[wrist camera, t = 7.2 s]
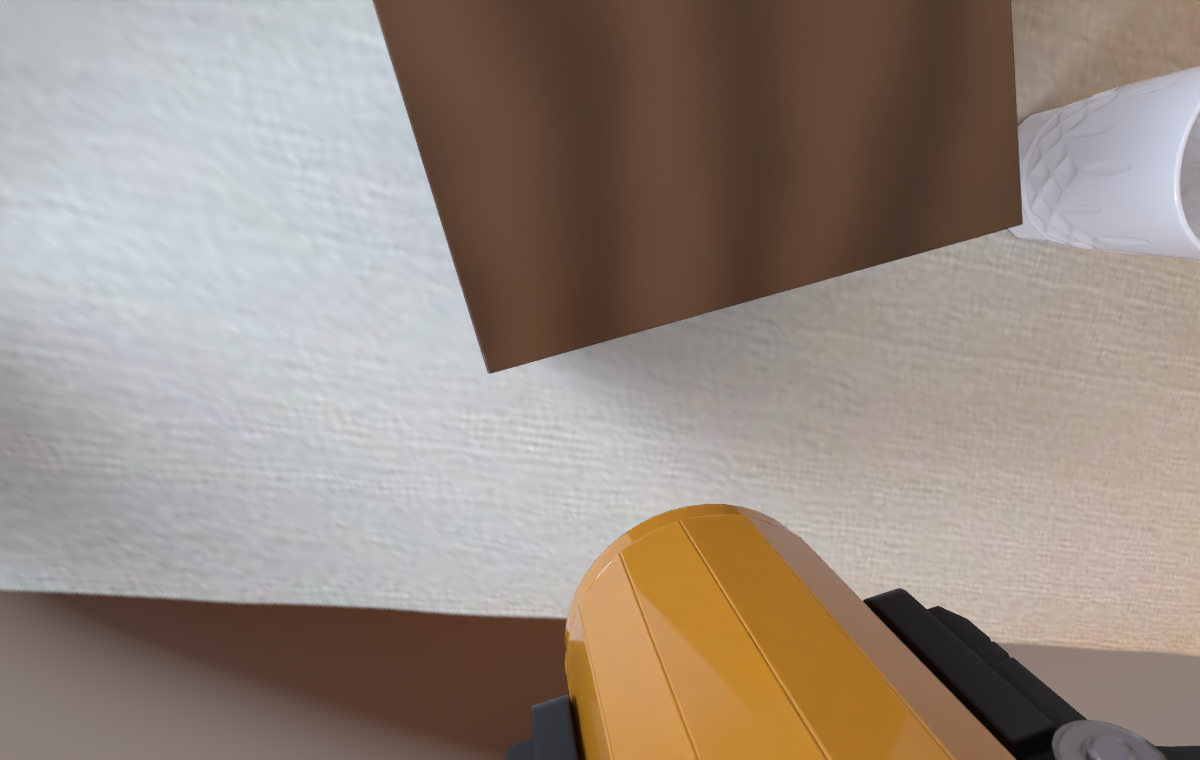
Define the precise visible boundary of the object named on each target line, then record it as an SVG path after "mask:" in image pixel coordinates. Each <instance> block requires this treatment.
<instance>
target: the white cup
mask: <svg viewBox="0 0 1200 760" xmlns="http://www.w3.org/2000/svg"><path fill="white" fill-rule="evenodd" d="M1018 142H1019V161H1020V179H1021V197H1022V216H1023V224H1022V225H1019V226H1016V227H1012V228H1009V229H1008V230H1009V231H1010V232H1011V233H1013V234H1014V235H1015V236H1016V237H1018V238H1023V239H1028V240H1033V241H1038V242H1045V243H1057V244H1066V245H1068V246H1070V247H1076V248H1086V249H1094V250H1100V251H1108V252H1117V253H1127V254H1138V255H1149V256H1160V257H1170V258H1181V259H1191V260H1200V65H1198V66H1194V67H1190V68H1186V69H1182V70H1179V71H1175V72H1172V73H1168V74H1164V75H1160V76H1157V77H1153V78H1149V79H1145V80H1142V81H1138V82H1134V83H1130V84H1127V85H1123V86H1119V87H1117V88H1114V89H1111V90H1108V91H1105V92H1101V93H1097V94H1093V95H1090V96H1088V97H1086V98H1084V99H1082V100H1080V101H1077V102H1074V103H1070V104H1066V105H1062V106H1058V107H1055V108H1052V109H1048V110H1045V111H1042V112H1038V113H1035V114H1032V115H1030V116H1028V117H1027V118H1026V119H1025V120H1024V121H1023V122H1022V123H1021V124H1020V125H1019V126H1018Z"/></svg>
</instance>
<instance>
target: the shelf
mask: <svg viewBox="0 0 1200 760" xmlns="http://www.w3.org/2000/svg"><path fill="white" fill-rule="evenodd" d="M372 1H373V4H374V7H375V10H376V14H377V17H378V20H379V23H380V26H381V30H382V33H383V36H384V39H385V43H386V46H387V49H388V52H389V56H390V59H391V62H392V65H393V68H394V72H395V75H396V78H397V81H398V85H399V88H400V91H401V94H402V97H403V101H404V104H405V107H406V110H407V114H408V117H409V120H410V123H411V127H412V130H413V133H414V136H415V139H416V143H417V146H418V149H419V152H420V156H421V159H422V162H423V165H424V169H425V172H426V175H427V178H428V181H429V185H430V188H431V191H432V194H433V198H434V201H435V204H436V207H437V210H438V214H439V217H440V220H441V223H442V227H443V230H444V233H445V236H446V240H447V243H448V246H449V249H450V252H451V256H452V259H453V262H454V265H455V269H456V272H457V275H458V278H459V281H460V285H461V288H462V291H463V294H464V298H465V301H466V304H467V307H468V311H469V314H470V317H471V320H472V323H473V327H474V330H475V333H476V336H477V340H478V343H479V346H480V349H481V352H482V356H483V359H484V362H485V365H486V369H487V372H488V373H490V374H491V373H494V372H498V371H501V370H505V369H509V368H512V367H516V366H519V365H523V364H526V363H530V362H534V361H537V360H541V359H544V358H548V357H551V356H555V355H559V354H562V353H566V352H569V351H573V350H576V349H580V348H584V347H587V346H591V345H594V344H598V343H601V342H605V341H609V340H612V339H616V338H619V337H623V336H627V335H630V334H634V333H637V332H641V331H644V330H648V329H652V328H655V327H659V326H662V325H666V324H669V323H673V322H677V321H680V320H684V319H687V318H691V317H694V316H698V315H702V314H705V313H709V312H712V311H716V310H719V309H723V308H727V307H730V306H734V305H737V304H741V303H744V302H748V301H752V300H755V299H759V298H762V297H766V296H769V295H773V294H777V293H780V292H784V291H787V290H791V289H794V288H798V287H802V286H805V285H809V284H812V283H816V282H819V281H823V280H827V279H830V278H834V277H837V276H841V275H844V274H848V273H852V272H855V271H859V270H862V269H866V268H869V267H873V266H877V265H880V264H884V263H887V262H891V261H894V260H898V259H902V258H905V257H909V256H912V255H916V254H919V253H923V252H927V251H930V250H934V249H937V248H941V247H944V246H948V245H952V244H955V243H959V242H962V241H966V240H969V239H973V238H977V237H980V236H984V235H987V234H991V233H994V232H998V231H1002V230H1005V229H1009V228H1012V227H1016V226H1019V225H1022V224H1023V216H1022V197H1021V179H1020V161H1019V142H1018V124H1017V106H1016V87H1015V69H1014V51H1013V32H1012V14H1011V0H372Z"/></svg>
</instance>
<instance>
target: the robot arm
mask: <svg viewBox="0 0 1200 760" xmlns="http://www.w3.org/2000/svg"><path fill="white" fill-rule="evenodd" d="M863 602H864V603H865V604H866V605H867V606H868V607H869V608H870V609H871V610H872V611H873V612H874V613H875V614H876V615H877V616H878V617H879V618H880V620H881V621H882V622H883V623H884V624H885V625H886V626H887V627H888V628H889V629H890V630H891V631H892V632H893V633H894V634H895V635H896V636H897V637H898V638H899V639H900V640H901V641H902V642H903V643H904V644H905V645H906V646H907V647H908V648H909V649H910V650H911V651H912V652H913V653H914V654H915V655H916V657H917V658H918V659H919V660H920V661H921V662H922V663H923V664H924V665H925V666H926V667H927V668H928V669H929V670H930V671H931V672H932V673H933V674H934V675H935V676H936V677H937V678H938V679H939V680H940V681H941V682H942V683H943V684H944V685H945V686H946V687H947V688H948V689H949V690H950V691H951V692H952V693H953V695H954V696H955V697H956V698H957V699H958V700H959V701H960V702H961V703H962V704H963V705H964V706H965V707H966V708H967V709H968V710H969V711H970V712H971V713H972V714H973V715H974V716H975V717H976V718H977V719H978V720H979V721H980V722H981V723H982V724H983V725H984V726H985V727H986V728H987V729H988V730H989V731H990V733H991V734H992V735H993V736H994V737H995V738H996V739H997V740H998V741H999V742H1000V743H1001V744H1002V745H1003V746H1004V747H1005V748H1006V749H1007V750H1008V751H1009V752H1010V753H1011V754H1012V755H1013V756H1014V757H1015V758H1016V759H1017V760H1200V746H1179V747H1178V746H1176V747H1163V746H1154V745H1153V744H1151V743H1150V742H1149V741H1148V740H1146V739H1145V738H1143V737H1141V736H1140V735H1138V734H1136V733H1134V732H1132V731H1130V730H1128V729H1126V728H1123V727H1121V726H1118V725H1115V724H1111V723H1107V722H1103V721H1096V720H1087V719H1086V718H1085V717H1083V716H1082V715H1081V714H1080V713H1079V712H1077V711H1076V710H1075V709H1074V708H1073V707H1071V706H1070V705H1069V704H1068V703H1067V702H1066V701H1064V700H1063V699H1062V698H1061V697H1060V696H1058V695H1057V694H1056V693H1055V692H1054V691H1052V690H1051V689H1050V688H1049V687H1048V686H1046V685H1045V684H1044V683H1043V682H1042V681H1040V680H1039V679H1038V678H1037V677H1036V676H1034V675H1033V674H1032V673H1031V672H1030V671H1029V670H1027V669H1026V668H1025V667H1024V666H1023V665H1021V664H1020V663H1019V662H1018V661H1017V660H1015V659H1014V658H1010V657H1009V655H1008V653H1007V652H1006V651H1005V650H1003V649H1002V648H1001V647H1000V646H999V645H998V644H996V643H995V642H991V640H990V638H989V637H988V636H987V635H986V634H984V633H983V632H982V631H981V630H980V629H978V628H977V627H976V626H975V625H974V624H972V623H971V622H970V621H969V620H968V619H966V618H964V617H962V616H959V615H957V614H955V613H953V612H950V611H948V610H946V609H944V608H942V607H939V606H936V607H933V608H930V609H926V608H925V607H924V606H922V605H921V604H920V603H919V602H918V601H917V600H916V599H915V598H913V597H912V596H911V595H910V594H909V593H908V592H907V591H905V590H903V589H901V588H898V589H895V590H892V591H889V592H886V593H883V594H879V595H876V596H873V597H870V598H867V599H865V600H864V601H863ZM531 720H532V733H533V738H532V739H529V740H526V741H523V742H520V743H517V744H513V745H510V746H509V749H508V751H507V754H506V756H505V759H504V760H581V759H580V753H579V747H578V740H577V734H576V728H575V722H574V716H573V709H572V703H571V700H570V697H569V695H564V696H561V697H558V698H555V699H552V700H549V701H546V702H543V703H540V704H537V705H534V706H532V707H531Z"/></svg>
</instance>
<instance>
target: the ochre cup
mask: <svg viewBox="0 0 1200 760" xmlns="http://www.w3.org/2000/svg"><path fill="white" fill-rule="evenodd" d="M565 653H566V657H565V669H566V676H567V682H568V688H569V695H570V700H571V703H572V709H573V716H574V722H575V728H576V734H577V740H578V747H579V753H580V759H581V760H1017V759H1016V758H1015V757H1014V756H1013V755H1012V754H1011V753H1010V752H1009V751H1008V750H1007V749H1006V748H1005V747H1004V746H1003V745H1002V744H1001V743H1000V742H999V741H998V740H997V739H996V738H995V737H994V736H993V735H992V734H991V733H990V731H989V730H988V729H987V728H986V727H985V726H984V725H983V724H982V723H981V722H980V721H979V720H978V719H977V718H976V717H975V716H974V715H973V714H972V713H971V712H970V711H969V710H968V709H967V708H966V707H965V706H964V705H963V704H962V703H961V702H960V701H959V700H958V699H957V698H956V697H955V696H954V695H953V693H952V692H951V691H950V690H949V689H948V688H947V687H946V686H945V685H944V684H943V683H942V682H941V681H940V680H939V679H938V678H937V677H936V676H935V675H934V674H933V673H932V672H931V671H930V670H929V669H928V668H927V667H926V666H925V665H924V664H923V663H922V662H921V661H920V660H919V659H918V658H917V657H916V655H915V654H914V653H913V652H912V651H911V650H910V649H909V648H908V647H907V646H906V645H905V644H904V643H903V642H902V641H901V640H900V639H899V638H898V637H897V636H896V635H895V634H894V633H893V632H892V631H891V630H890V629H889V628H888V627H887V626H886V625H885V624H884V623H883V622H882V621H881V620H880V618H879V617H878V616H877V615H876V614H875V613H874V612H873V611H872V610H871V609H870V608H869V607H868V606H867V605H866V604H865V603H864V602H863V601H862V600H861V599H860V598H859V597H858V596H857V595H856V594H855V593H854V592H853V591H852V590H851V589H850V588H849V587H848V586H847V585H846V584H845V583H844V582H843V580H842V579H841V578H840V577H839V576H838V575H837V574H836V573H835V572H834V571H833V570H832V569H831V568H830V567H829V566H828V565H827V564H826V563H825V562H824V561H823V560H822V559H821V558H820V557H819V556H818V555H817V554H816V553H815V552H814V551H813V550H812V549H811V548H810V547H809V546H808V545H807V544H806V542H805V541H804V540H803V539H802V538H801V537H799V536H798V535H796V534H794V533H793V532H792V531H790V530H789V529H788V528H787V527H786V526H784V525H783V524H781V523H780V522H778V521H776V520H775V519H773V518H771V517H769V516H767V515H765V514H763V513H760V512H758V511H755V510H751V509H748V508H744V507H739V506H733V505H726V504H703V505H693V506H687V507H683V508H678V509H674V510H670V511H668V512H665V513H662V514H660V515H657V516H654V517H652V518H650V519H648V520H646V521H644V522H642V523H640V524H638V525H637V526H635V527H634V528H632V529H630V530H629V531H627V532H626V533H624V534H623V535H622V536H620V537H619V538H618V539H617V540H616V541H614V542H613V543H612V544H611V545H610V546H608V547H607V549H606V550H605V551H604V552H603V553H602V554H601V555H600V556H599V557H598V558H597V559H596V560H595V562H594V563H593V565H592V566H591V567H590V569H589V570H588V571H587V573H586V574H585V576H584V578H583V579H582V581H581V583H580V585H579V587H578V588H577V590H576V593H575V595H574V598H573V600H572V603H571V605H570V609H569V613H568V617H567V622H566V630H565Z"/></svg>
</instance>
